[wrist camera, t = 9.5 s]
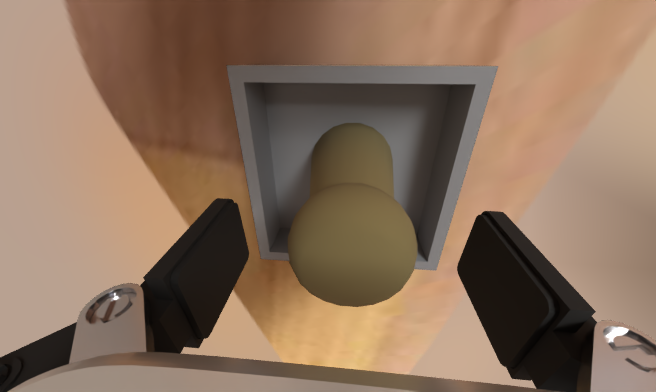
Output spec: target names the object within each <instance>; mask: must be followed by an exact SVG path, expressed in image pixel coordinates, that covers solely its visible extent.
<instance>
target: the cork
mask: <svg viewBox="0 0 656 392" xmlns="http://www.w3.org/2000/svg"><path fill="white" fill-rule="evenodd" d="M288 254H289V263H290V265H291V267H292V269H293V271H294V273H295V274H296V276H297V278H298V280H299V282H300V284H301V285H302V286H303V287H305V288H306V289H307V290H308V291H309V292H310V293H311V294H313V295H314V296H316V297H318V298H320V299H322V300H323V301H326V302H329V303H333V304H336V305H340V306H352V307H359V306H367V305H374V304H376V303H379V302H382V301H384V300H387V299H389V298H390V297H392V296H393V295H395V294H396V293H397V292H399V291H400V290H401V289H402V288H403V286H404V285H405V283H406V282H407V281H408V279H409V278H410V276H411V274H412V272H413V271H414V267H415V263H416V258H417V240H416V235H415V230H414V227H413V224H412V222H411V220H410V218H409V217H408V215H407V214H406V212H405V211H404V209H403V208H402V206H401V205H400V204H399V203H398V202H397V201H396V200H395V199H394V182H393V159H392V154H391V149H390V146H389V144H388V143H387V141H386V139H385V138H384V136H383V135H382V134H380V133H379V132H378V131H377V130H375V129H374V128H373V127H370V126H367V125H364V124H362V123H344V124H341V125H338V126H334V127H332V128H331V129H330V130H328V131H327V132H325V133H324V134H323V135H322V136H321V137H320V139H319V140H318V141H317V143H316V144H315V147H314V150H313V153H312V158H311V178H310V198H309V199H308V200H307V201H306V202H305V204H304V205H303V206H302V207H301V209H300V210H299V211H298V212H297V213H296V215H295V217H294V220H293V222H292V226H291V229H290V232H289V235H288Z"/></svg>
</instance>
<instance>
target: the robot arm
mask: <svg viewBox="0 0 656 392" xmlns="http://www.w3.org/2000/svg"><path fill="white" fill-rule="evenodd" d="M248 257H249V251H248V246H247V242H246V238H245V233H244V229H243V225H242V221H241V216H240V212H239V208H238V204H237V203H234V201H233V200H232V199H220V198H218V199H216V200H214V201H213V203H212V204H211V205H210V206H209V207H208V208H207V209H206V210H205V211H204V212H203V213H202V214H201V216H200V217H199V218H198V219H197V220H196V221H195V222H194V223H193V224H192V225H191V226H190V227H189V229H188V230H187V231H186V232H185V233H184V234H183V235H182V236H181V237H180V238H179V239H178V241H177V242H176V243H175V244H174V245H173V246H172V247H171V248H170V249H169V250H168V251H167V253H166V254H165V255H164V256H163V257H162V258H161V259H160V260H159V261H158V262H157V263H156V264H155V265H154V267H153V268H152V269H151V270H150V271H149V272H148V273H147V274H146V275H145V276H144V277H143V278H144V280H145V281H144V282H143V283H142V284H141V285H140V286H139V285H138V284H133V283H127V284H121V285H118V286H114V287H112V288H110V289H108V290H105V291H104V292H102V293H100V294H99V295H97V296H96V297H94V298H93V299H92V300H91V301H90V302H89V303H88V304H86V306H85V307H84V308H83V310H82V311H81V312H80V315H79V317H78V320H77V322H76V323H74V324H72V325H70V326H67V327H65V328H63V329H61V330H59V331H57V332H54V333H52V334H50V335H48V336H46V337H44V338H42V339H39V340H37V341H35V342H33V343H31V344H29V345H27V346H24V347H22V348H20V349H18V350H16V351H13V352H11V353H9V354H7V355H5V356H3V357H0V392H656V340H654V339H653V338H651V337H650V336H648V335H647V334H645V333H643V332H641V331H639V330H638V329H635V328H633V327H631V326H628V325H626V324H624V323H620V322H616V321H612V320H602V321H600V322H598V323H597V322H596V321H595V320H594V319H593V317H592V315H593V314H594V313H595V310H594V309H593V308H592V307H591V306H590V305H589V304H588V303H587V302H586V301H585V300H584V299H583V297H582V296H581V295H580V294H579V293H578V292H577V291H576V290H575V289H574V288H573V287H572V286H571V285H570V284H569V282H568V281H567V280H566V279H565V278H564V277H563V276H562V275H561V274H560V273H559V272H558V271H557V269H556V268H555V267H554V266H553V265H552V264H551V263H550V262H549V261H548V260H547V259H546V258H545V257H544V255H543V254H542V253H541V252H540V251H539V250H538V249H537V248H536V247H535V246H534V245H533V244H532V242H531V241H530V240H529V239H528V238H527V237H526V236H525V235H524V234H523V233H522V232H521V231H520V230H519V228H518V227H517V226H516V225H515V224H514V223H513V222H512V221H511V220H510V219H509V218H508V217H507V216H506V214H504V213H503V212H494V211H484V212H483V213H482V214H481V215H478V216H477V217H476V220H475V222H474V225H473V227H472V230H471V232H470V235H469V237H468V240H467V243H466V245H465V248H464V250H463V253H462V255H461V258H460V260H459V263H458V266H457V271H458V274H459V277H460V279H461V281H462V283H463V285H464V287H465V289H466V292H467V294H468V296H469V298H470V300H471V302H472V304H473V306H474V309H475V311H476V313H477V315H478V317H479V319H480V321H481V323H482V326H483V327H484V330H485V332H486V334H487V336H488V338H489V340H490V342H491V345H492V347H493V349H494V351H495V353H496V355H497V358H498V360H499V361H500V363H501V364H502V365H503V366H505V367H506V368H507V370H508V372H509V374H510V376H511V378H512V379H520V380H532V381H533V383H534V385H535V386H536V388H537V389H534V388H526V387H518V386H510V385H500V384H490V383H481V382H471V381H462V380H452V379H442V378H433V377H423V376H414V375H404V374H394V373H384V372H374V371H364V370H354V369H344V368H334V367H324V366H313V365H303V364H293V363H282V362H271V361H261V360H249V359H239V358H229V357H218V356H205V355H190V354H180V353H181V351H182V350H183V348H184V347H192V348H199V347H200V345H201V343H202V341H203V339H204V338H208V337H209V335H210V333H211V332H212V330H213V328H214V326H215V324H216V322H217V320H218V318H219V315H220V314H221V312H222V310H223V308H224V306H225V304H226V302H227V300H228V298H229V296H230V294H231V292H232V290H233V288H234V286H235V284H236V282H237V280H238V278H239V276H240V274H241V272H242V270H243V268H244V266H245V264H246V262H247V260H248Z"/></svg>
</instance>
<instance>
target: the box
mask: <svg viewBox="0 0 656 392" xmlns="http://www.w3.org/2000/svg"><path fill="white" fill-rule="evenodd" d="M226 66H227V71H228V77H229V83H230V88H231V94H232V99H233V105H234V111H235V116H236V122H237V128H238V133H239V139H240V144H241V150H242V156H243V161H244V167H245V173H246V178H247V184H248V189H249V195H250V201H251V206H252V212H253V218H254V223H255V229H256V234H257V240H258V246H259V251H260V257H261V259H268V260H284V261H289V254H288V235H289V232H290V229H291V226H292V222H293V220H294V217H295V215H296V213H297V212H298V211H299V210H300V209H301V207H302V206H303V205H304V204H305V202H306V201H307V200H308V199H309V198H310V178H311V158H312V153H313V150H314V147H315V144H316V143H317V141H318V140H319V139H320V137H321V136H322V135H323V134H324V133H325V132H327V131H328V130H330V129H331V128H332V127H334V126H338V125H341V124H344V123H362V124H364V125H367V126H370V127H373V128H374V129H375V130H377V131H378V132H379V133H380V134H382V135H383V136H384V138H385V139H386V141H387V143H388V144H389V146H390V149H391V154H392V159H393V182H394V199H395V200H396V201H397V202H398V203H399V204H400V205H401V206H402V208H403V209H404V211H405V212H406V214H407V215H408V217H409V218H410V220H411V222H412V224H413V227H414V230H415V235H416V240H417V258H416V263H415V267H414V269H422V270H436V269H437V266H438V263H439V260H440V256H441V253H442V250H443V246H444V243H445V240H446V236H447V233H448V230H449V227H450V223H451V220H452V217H453V213H454V210H455V207H456V204H457V200H458V197H459V194H460V190H461V187H462V184H463V180H464V177H465V174H466V171H467V167H468V164H469V161H470V157H471V154H472V151H473V147H474V144H475V141H476V138H477V134H478V131H479V128H480V124H481V121H482V118H483V115H484V111H485V108H486V105H487V101H488V98H489V95H490V91H491V88H492V85H493V82H494V78H495V75H496V72H497V68H498V66H467V65H226Z"/></svg>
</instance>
